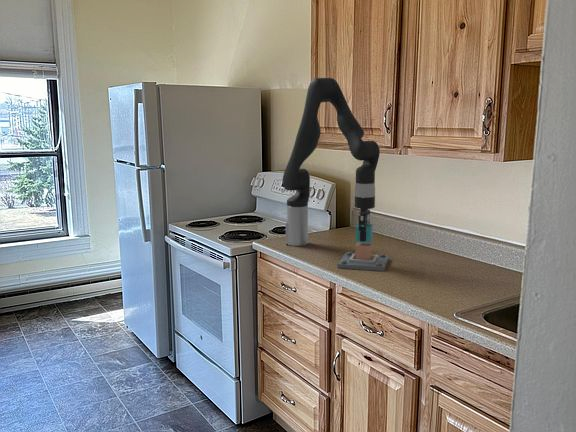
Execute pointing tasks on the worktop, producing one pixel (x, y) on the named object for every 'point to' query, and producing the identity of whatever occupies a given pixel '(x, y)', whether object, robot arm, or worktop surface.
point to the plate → (363, 262)
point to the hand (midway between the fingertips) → (364, 239)
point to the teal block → (368, 233)
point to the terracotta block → (363, 251)
